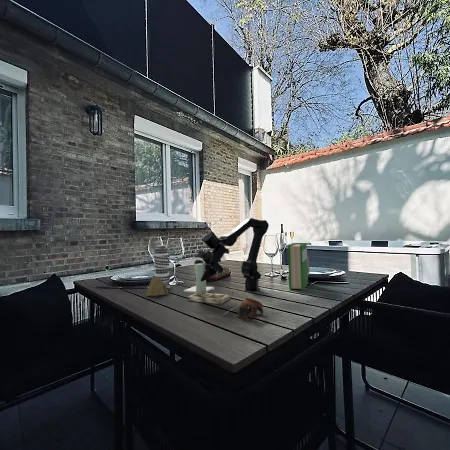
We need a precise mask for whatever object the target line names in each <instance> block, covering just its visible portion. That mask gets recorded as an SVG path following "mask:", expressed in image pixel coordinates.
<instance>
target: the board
mask: <svg viewBox="0 0 450 450" xmlns="http://www.w3.org/2000/svg"><path fill="white" fill-rule="evenodd" d="M214 290H215V286H206V293H209V292H210V291H214ZM183 292H184V293H189V294H190V293H193V294H195V293H196V285H195V286H191V287H190V288H189V287H188V288H186V289H184V290H183Z"/></svg>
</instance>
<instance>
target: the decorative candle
mask: <svg viewBox="0 0 450 450" xmlns="http://www.w3.org/2000/svg"><path fill="white" fill-rule="evenodd" d="M153 258H154V259H153V261H154V262H153V264H154V269H155V273H154V274H155V275H154V276H157V277H158V278H159V279H160V280H161V281H162V282H163V283H164V284H165V285H166V288H168V289H170V284H171V282H170V281H171V280H170V277H171V276H170V272H169V269H170V264H169V263H170V261H169V260H170V259H171V258H170V255H169V248H168V246H167V245H164V244H162V245H156V246H155V247H154V255H153Z"/></svg>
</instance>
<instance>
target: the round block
mask: <svg viewBox="0 0 450 450" xmlns="http://www.w3.org/2000/svg"><path fill="white" fill-rule="evenodd" d="M194 266H195V277H196V280H195V286H196V294H198V295H203V294H206V293H207V292H206V287H207V279H206V280H204V281H203V282H202V281H201V278H202V276H203V275H204V273H205V271H206V270H205V264H194Z"/></svg>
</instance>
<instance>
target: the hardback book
mask: <svg viewBox="0 0 450 450" xmlns="http://www.w3.org/2000/svg"><path fill="white" fill-rule="evenodd" d="M307 244H308V243H307V242H293V243H289V244H288V245H287V255H288V257H287V259H288V261H287V262H288V286H289V287H288V289H290V290H289V291H291V290H293V289H295V290H297V289H298V290H301V291H302V290H304V291H305V289H306V288H305V287H307V286H308V285H309V280H308V271H307V253H308V247H307V246H308V245H307ZM307 284H308V285H307Z"/></svg>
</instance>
